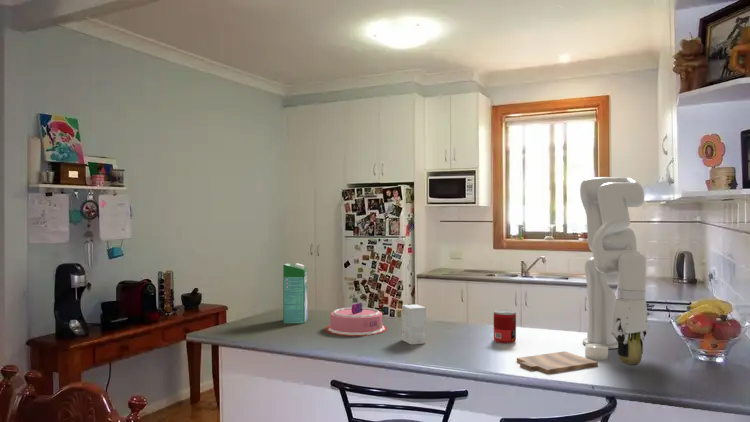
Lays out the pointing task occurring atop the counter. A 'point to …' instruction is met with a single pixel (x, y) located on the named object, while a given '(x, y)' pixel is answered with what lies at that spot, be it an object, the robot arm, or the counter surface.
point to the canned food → (504, 326)
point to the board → (555, 362)
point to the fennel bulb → (633, 350)
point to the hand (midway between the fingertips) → (630, 354)
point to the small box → (414, 324)
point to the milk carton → (294, 293)
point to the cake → (356, 321)
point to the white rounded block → (596, 351)
